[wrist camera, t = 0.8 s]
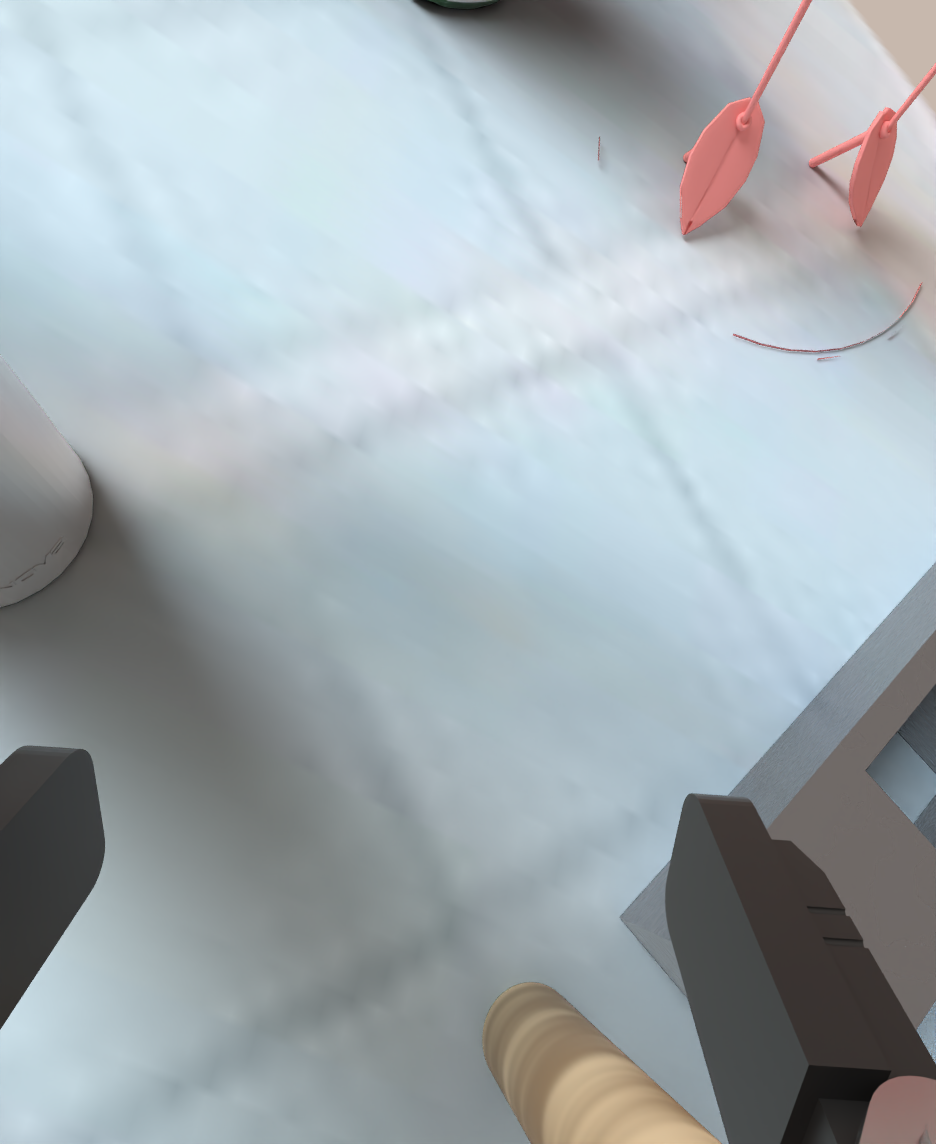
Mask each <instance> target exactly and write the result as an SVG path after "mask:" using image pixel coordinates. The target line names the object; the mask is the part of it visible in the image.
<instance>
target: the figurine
mask: <svg viewBox="0 0 936 1144" xmlns="http://www.w3.org/2000/svg"><path fill="white" fill-rule="evenodd" d="M811 1H812V0H802V2H801V4H800V6H799V8H798V10H797V12H796V14H795V16H794V18H793V20H792V22H791V24H790V26H789V27H788V29H787V31H786V33H785V35H784V37H783V39H782V41H781V43H780V45H779V47H778V49H777V51H776V53H775V54H774V56H773V58H772V60H771V62H770V64H769V66H768V68H767V70H766V72H765V74H764V76H763V78H762V80H761V81H760V83H759V85H758V87H757V89H756V91H755V93H754V95H753V97H752V99H751V98H749V97H748V98H745V99H742V100H738V101H735V102H732V103H728V104H727V106H726V107H725V108H724V109H723V110H722V111H721V112H720V113H719V114H718V115H717V116H716V117H715V118H714V119H713V120H712V121H711V122H710V123H709V125H708V126H707V127H706V128H705V129H704V130H703V132H702V133H701V135H700V137H699V139H698V140H697V142H696V144H695V146H694V147H693V149H691V150H690V151H688V152H687V153H685V154H684V156H683V159H684V161H685V162H687V164H686V167H685V171H684V174H683V177H682V181H681V184H680V212H681V196H682V218H680V222H681V230H682V234H683V235H686V234H687V233H689V232H691V231H692V230H694V229H696V228H698V227H699V226H701V225H702V224H703V223H705V222H706V221H707V220H709V219H710V218H711V217H713V216H714V215H715V214H717V213H718V212H719V211H721V210H722V209H723V208H725V207H726V206H727V204H728V203H729V202H730V201H731V199H732V198H733V197H734V195H735V194H736V193H737V192H738V190H739V189H740V188H741V187H742V185H743V184H744V183H745V181H746V179H747V177H748V175H749V173H750V171H751V169H752V167H753V165H754V162H755V160H756V158H757V156H758V151H759V147H760V142H761V137H762V132H763V128H764V123H765V121H764V118H763V115H762V112H761V109H760V105H759V102H758V100H759V99H760V97H761V95H762V93H763V91H764V89H765V87H766V85H767V84H768V82H769V80H770V78H771V76H772V74H773V72H774V71H775V69H776V67H777V65H778V63H779V61H780V59H781V57H782V56H783V54H784V52H785V50H786V48H787V46H788V44H789V42H790V41H791V39H792V37H793V35H794V33H795V31H796V29H797V27H798V26H799V24H800V22H801V20H802V18H803V16H804V14H805V12H806V11H807V9H808V7H809V5H810V3H811ZM935 74H936V63H935V65H934V66H933V67H932V68H931V70H930V71H929V72H928V74H927V75H926V76H925V77H924V78H923V80H922V81H921V82H920V84H919V85H918V86H917V87H916V89H915V90H914V91H913V92H912V94H911V95H910V96H909V97H908V99H907V100H906V101H905V102H904V104H903V105H902V106H901V108H900V109H899V110H898V111H897V113H895V112H894V111H893V110H892V109H890V108H886V107H885V109H884V110H883V112H882V111H879V113H878V115H877V116H876V118H875V119H874V121H873V122H872V124H871V125H870V127H869V128H868V130H867V131H866V132H864V133H862V134H860V135H858V136H856V137H854V138H852V139H850V140H848V141H846V142H844V143H842V144H840V145H838V146H836V147H834V148H832V149H830V150H828V151H826V152H824V153H822V154H820V155H818V156H816V157H814V158H812V159H811V160H810V161H809V166H810V167H812V168H813V167H815V166H818V165H820V164H822V163H824V162H826V161H828V160H830V159H832V158H834V157H836V156H838V155H840V154H842V153H844V152H847V151H849V150H851V149H853V148H855V147H857V146H859V145H861V144H862V145H861V148H860V151H859V153H858V156H857V159H856V161H855V164H854V168H853V172H852V176H851V180H850V187H849V205H850V209H851V213H852V217H853V220H854V222H855V224H856V225H857V226H860V227H861V226H862V224H863V222H864V220H865V218H866V217H867V215H868V213H869V211H870V209H871V207H872V205H873V203H874V201H875V199H876V197H877V194H878V192H879V190H880V188H881V186H882V184H883V182H884V180H885V177H886V174H887V171H888V169H889V166H890V163H891V160H892V157H893V153H894V148H895V143H896V138H897V121H898V120H899V118H900V117H901V116H902V115H903V113H904V112H905V111H906V110H907V108H908V107H909V106H910V105H911V104H912V102H913V101H914V100H915V99H916V97H917V96H918V95H919V94H920V92H921V91H922V90H923V89H924V87H925V86H926V85H927V84H928V83H929V81H930V80H931V79H932V78H933V76H934V75H935ZM599 146H600V137H599ZM598 160H599V150H598ZM921 284H922V283H921ZM921 284H920V286H921ZM920 286H919V288H920ZM919 288H918V290H919ZM918 290H917V292H918ZM917 292H916V294H917ZM916 294H915V296H914V298H913V300H912V302H913V301H914V299H915V297H916ZM912 302H911V303H912ZM910 305H911V304H910ZM910 305H909V306H910ZM909 306H908V307H909ZM908 307H907V308H908ZM906 310H907V309H906ZM906 310H905V311H906ZM905 311H904V312H905ZM902 315H903V314H902ZM902 315H901V316H902ZM901 316H900V317H901ZM890 326H891V325H890ZM884 331H885V330H884ZM881 333H882V332H881ZM879 334H880V333H879ZM877 335H878V334H877ZM733 336H736V337H739V338H742V339H745V340H747V341H750V342H753V343H756V344H759V345H762V346H767V347H772V348H777V349H782V350H787V351H801V352H821V351H830V350H840V349H843V348H838V349H829V350H820V351H809V350H791V349H785V348H780V347H775V346H771V345H766V344H761V343H758V342H756V341H753V340H750V339H747V338H744V337H742V336H739V335H736V334H733ZM875 336H876V335H875ZM873 337H874V336H873ZM868 340H869V339H868ZM866 341H867V340H866ZM864 342H865V341H864ZM860 343H863V342H860ZM860 343H857V344H860ZM857 344H854V345H857ZM850 346H853V345H850ZM850 346H847V347H850ZM844 348H846V347H844ZM836 357H838V356H836ZM827 358H832V357H827ZM819 359H825V358H818V359H817V360H819Z"/></svg>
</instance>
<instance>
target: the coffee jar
mask: <svg viewBox="0 0 936 1144" xmlns="http://www.w3.org/2000/svg"><path fill="white" fill-rule="evenodd" d="M429 1H432V2H434V3H436V4H438V5H441V6H443V7H449V8H458V9H474V8H478V7H482V6H485V5H490V4H493V3H496V2H498V1H499V0H429Z"/></svg>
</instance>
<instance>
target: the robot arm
mask: <svg viewBox="0 0 936 1144" xmlns="http://www.w3.org/2000/svg"><path fill="white" fill-rule="evenodd" d="M92 512H93V493H92V489H91V484H90V479H89V476H88V474H87V472H86V470H85V468H84V466H83V464H82V461H81V459H80V458H79V457H78V455H77V454H76V453H75V451H74V450H73V449H72V448H71V446H70V445H69V444H68V442H67V441H66V440H65V438H64V437H63V436H62V434H61V433H60V432H59V431H58V429H57V428H56V427H55V425H54V424H53V423H52V421H51V420H50V419H49V417H48V416H47V414H46V413H45V412H44V410H43V409H42V408H41V406H40V405H39V404H38V402H37V401H36V400H35V398H34V397H33V396H32V395H31V393H30V392H29V391H28V389H27V388H26V387H25V385H24V384H23V383H22V382H21V380H20V379H19V378H18V376H17V375H16V374H15V372H14V371H13V370H12V369H11V367H10V366H9V365H8V363H7V362H6V361H5V359H4V358H3V357H2V356H1V354H0V608H1V607H4V606H7V605H10V604H13V603H16V602H19V601H21V600H23V599H25V598H27V597H29V596H30V595H32V594H34V593H36V592H38V591H40V590H42V589H43V588H44V587H45V586H47V585H48V584H49V583H50V582H52V581H53V580H54V579H55V578H57V577H58V576H59V575H60V574H61V573H62V572H63V571H64V570H65V569H66V567H67V566H68V565H69V564H70V563H71V562H72V560H73V559H74V558H75V557H76V555H77V553H78V552H79V550H80V548H81V546H82V544H83V543H84V541H85V539H86V537H87V533H88V530H89V527H90V523H91V520H92ZM104 852H105V837H104V830H103V824H102V818H101V811H100V805H99V798H98V792H97V786H96V779H95V773H94V766H93V762H92V758H91V756H90V754H89V753H88V752H87V751H86V750H83V749H71V748H57V747H42V746H23V747H20V748H19V749H17V750H16V751H15V752H13V753H12V754H11V755H10V756H9V757H8V758H7V759H6V760H5V761H4V762H3V763H2V764H1V765H0V1029H1V1028H2V1026H3V1025H4V1023H5V1022H6V1020H7V1019H8V1017H9V1016H10V1014H11V1012H12V1011H13V1009H14V1008H15V1006H16V1005H17V1003H18V1002H19V1000H20V999H21V997H22V996H23V994H24V993H25V991H26V990H27V988H28V987H29V985H30V984H31V982H32V980H33V979H34V977H35V976H36V974H37V973H38V971H39V970H40V968H41V967H42V965H43V964H44V962H45V961H46V959H47V958H48V956H49V955H50V953H51V952H52V950H53V949H54V947H55V945H56V944H57V942H58V941H59V939H60V938H61V936H62V935H63V933H64V932H65V930H66V929H67V927H68V926H69V924H70V923H71V921H72V920H73V918H74V917H75V915H76V913H77V912H78V910H79V909H80V907H81V906H82V904H83V903H84V901H85V900H86V898H87V897H88V895H89V894H90V892H91V890H92V889H93V887H94V885H95V883H96V881H97V879H98V876H99V873H100V870H101V867H102V863H103V858H104ZM665 910H666V919H667V925H668V930H669V934H670V938H671V941H672V945H673V948H674V952H675V955H676V959H677V962H678V966H679V969H680V973H681V976H682V980H683V983H684V987H685V990H686V994H687V997H688V1001H689V1005H690V1008H691V1012H692V1015H693V1019H694V1022H695V1026H696V1029H697V1033H698V1036H699V1040H700V1043H701V1047H702V1050H703V1054H704V1057H705V1061H706V1064H707V1068H708V1071H709V1075H710V1078H711V1082H712V1085H713V1089H714V1092H715V1096H716V1100H717V1103H718V1107H719V1110H720V1114H721V1117H722V1121H723V1124H724V1128H725V1131H726V1135H727V1138H728V1142H729V1144H936V1064H935V1062H934V1061H933V1059H932V1057H931V1055H930V1054H929V1052H928V1050H927V1048H926V1047H925V1045H924V1043H923V1042H922V1040H921V1038H920V1036H919V1035H918V1033H917V1031H916V1030H915V1028H914V1026H913V1024H912V1023H911V1021H910V1019H909V1017H908V1016H907V1014H906V1012H905V1011H904V1009H903V1007H902V1005H901V1004H900V1002H899V1000H898V998H897V997H896V995H895V993H894V992H893V990H892V988H891V986H890V985H889V983H888V981H887V979H886V978H885V976H884V974H883V973H882V971H881V969H880V967H879V966H878V964H877V962H876V961H875V959H874V957H873V955H872V954H871V952H870V950H869V948H865V947H864V944H863V938H862V936H861V935H860V933H859V931H858V929H857V928H856V926H855V924H854V923H853V921H852V919H851V917H850V916H846V913H845V907H844V905H843V904H842V902H841V900H840V898H839V897H838V895H837V893H836V892H835V890H834V888H833V886H832V885H831V883H830V881H829V879H828V878H827V876H826V874H825V873H824V872H823V871H822V870H821V869H820V868H819V867H818V866H817V865H816V864H815V863H814V862H813V861H812V860H811V859H810V858H809V857H807V856H806V855H805V854H804V853H803V852H802V851H801V850H800V849H799V848H798V847H797V846H796V845H795V844H794V843H793V842H791V841H788V840H774V839H771V837H770V835H769V833H768V831H767V829H766V827H765V826H764V824H763V822H762V820H761V818H760V816H759V814H758V812H757V810H756V808H755V806H754V805H753V803H752V802H751V801H750V799H748V798H746V797H736V796H722V795H707V794H693V793H691V794H689V795H688V796H687V797H686V799H685V801H684V804H683V807H682V812H681V816H680V821H679V825H678V830H677V834H676V839H675V844H674V848H673V853H672V857H671V862H670V866H669V871H668V875H667V880H666V888H665Z"/></svg>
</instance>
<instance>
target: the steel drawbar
mask: <svg viewBox="0 0 936 1144" xmlns="http://www.w3.org/2000/svg"><path fill="white" fill-rule="evenodd" d="M897 731H898V732H899V734H900V735H901V736H902V737H903V738H904V739H905V740H906V741H907V742H908V743H909V744H910V746H911V747H912V748H913V749H914V750H915V751H916V752H917V753H918V754H919V755H920V757H921V758H922V759H923V760H924V761H925V762H926V763H927V764H928V765H929V766H930V767H931V769H932V770H933V771H934V772H935V773H936V563H935V564H934V565H933V566H932V567H931V568H930V569H929V571H928V572H927V573H926V574H925V575H924V576H923V577H922V578H921V580H920V581H919V582H918V583H917V584H916V585H915V586H914V587H913V588H912V590H911V591H910V592H909V593H908V594H907V595H906V596H905V597H904V599H903V600H902V601H901V602H900V603H899V604H898V605H897V606H896V608H895V609H894V610H893V611H892V612H891V613H890V614H889V615H888V617H887V618H886V619H885V620H884V621H883V622H882V623H881V624H880V626H879V627H878V628H877V629H876V630H875V631H874V632H873V633H872V635H871V636H870V637H869V638H868V639H867V640H866V641H865V642H864V644H863V645H862V646H861V647H860V648H859V649H858V650H857V651H856V653H855V654H854V655H853V656H852V657H851V658H850V659H849V660H848V661H847V663H846V664H845V665H844V666H843V667H842V668H841V669H840V670H839V672H838V673H837V674H836V675H835V676H834V677H833V678H832V679H831V681H830V682H829V683H828V684H827V685H826V686H825V687H824V688H823V690H822V691H821V692H820V693H819V694H818V695H817V696H816V697H815V699H814V700H813V701H812V702H811V703H810V704H809V705H808V706H807V708H806V709H805V710H804V711H803V712H802V713H801V714H800V715H799V717H798V718H797V719H796V720H795V721H794V722H793V723H792V724H791V726H790V727H789V728H788V729H787V730H786V731H785V732H784V733H783V734H782V736H781V737H780V738H779V739H778V740H777V741H776V742H775V743H774V745H773V746H772V747H771V748H770V749H769V750H768V751H767V752H766V754H765V755H764V756H763V757H762V758H761V759H760V760H759V761H758V763H757V764H756V765H755V766H754V767H753V768H752V769H751V770H750V772H749V773H748V774H747V775H746V776H745V777H744V778H743V779H742V781H741V782H740V783H739V784H738V785H737V786H736V787H735V788H734V790H733V791H732V792H731V793H730V794H729V795H728V796H736V797H746V798H748V799H750V801H751V802H752V803H753V805H754V806H755V808H756V810H757V812H758V814H759V816H760V818H761V820H762V822H763V824H764V826H765V827H766V829H767V831H768V833H769V835H770V837H771V839H774V840H788V841H791V842H793V843H794V844H795V845H796V846H797V847H798V848H799V849H800V850H801V851H802V852H803V853H804V854H805V855H806V856H807V857H809V858H810V859H811V860H812V861H813V862H814V863H815V864H816V865H817V866H818V867H819V868H820V869H821V870H822V871H823V872H824V873H825V874H826V876H827V878H828V879H829V881H830V883H831V885H832V886H833V888H834V890H835V892H836V893H837V895H838V897H839V898H840V900H841V902H842V904H843V905H844V907H845V913H846V916H850V917H851V919H852V921H853V923H854V924H855V926H856V928H857V929H858V931H859V933H860V935H861V936H862V938H863V944H864V947H865V948H869V950H870V952H871V954H872V955H873V957H874V959H875V961H876V962H877V964H878V966H879V967H880V969H881V971H882V973H883V974H884V976H885V978H886V979H887V981H888V983H889V985H890V986H891V988H892V990H893V992H894V993H895V995H896V997H897V998H898V1000H899V1002H900V1004H901V1005H902V1007H903V1009H904V1011H905V1012H906V1014H907V1016H908V1017H909V1019H910V1021H911V1023H912V1024H913V1026H914V1028H915V1030H916V1029H917V1028H918V1026H919V1025H920V1023H921V1022H922V1020H923V1019H924V1017H925V1016H926V1014H927V1013H928V1011H929V1010H930V1008H931V1007H932V1005H933V1004H934V1002H935V1001H936V795H935V797H934V798H933V799H932V801H931V802H930V803H929V805H928V806H927V807H926V809H925V810H924V811H923V813H922V814H921V815H920V816H919V818H918V819H917V820H916V822H915V823H914V824H913V823H912V822H911V821H910V820H909V819H908V817H907V816H906V815H905V814H904V813H903V812H902V811H901V810H900V809H899V807H898V806H897V805H896V804H895V803H894V802H893V801H892V800H891V799H890V797H889V796H888V795H887V794H886V793H885V792H884V791H883V790H882V789H881V787H880V786H879V785H878V784H877V783H876V782H875V781H874V780H873V779H872V778H871V776H870V775H869V774H868V773H867V772H866V771H865V770H866V769H867V768H868V766H869V765H870V764H871V763H872V761H873V760H874V759H875V758H876V757H877V755H878V754H879V753H880V752H881V750H882V749H883V748H884V747H885V746H886V744H887V743H888V742H889V741H890V739H891V738H892V737H893V736H894V734H895V733H896V732H897ZM670 862H671V860H670V861H669V863H668V864H667V865H666V866H665V867H664V868H663V869H662V870H661V872H660V873H659V874H658V875H657V876H656V877H655V878H654V879H653V881H652V882H651V883H650V884H649V885H648V886H647V887H646V888H645V889H644V891H643V892H642V893H641V894H640V895H639V896H638V897H637V898H636V900H635V901H634V902H633V903H632V904H631V905H630V906H629V907H628V909H627V910H626V911H625V912H624V913H623V914H622V915H621V916H620V918H621V920H622V921H623V922H624V923H625V924H626V926H627V927H628V928H629V929H630V930H631V932H632V933H633V934H634V935H635V936H636V938H637V939H638V940H639V941H640V942H641V943H642V945H643V946H644V947H645V948H646V949H647V951H648V952H649V953H650V954H651V955H652V957H653V958H654V959H655V960H656V961H657V963H658V964H659V965H660V966H661V967H662V969H663V970H664V971H665V972H666V973H667V974H668V976H669V977H670V978H671V979H672V980H673V982H674V983H675V984H676V985H677V986H678V988H679V989H680V990H681V991H682V992H683V994H684V995H685V996H686V997H687V994H686V990H685V987H684V983H683V980H682V976H681V973H680V969H679V966H678V962H677V959H676V955H675V952H674V948H673V945H672V941H671V938H670V934H669V930H668V925H667V919H666V910H665V888H666V880H667V875H668V871H669V866H670ZM687 998H688V997H687Z"/></svg>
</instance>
